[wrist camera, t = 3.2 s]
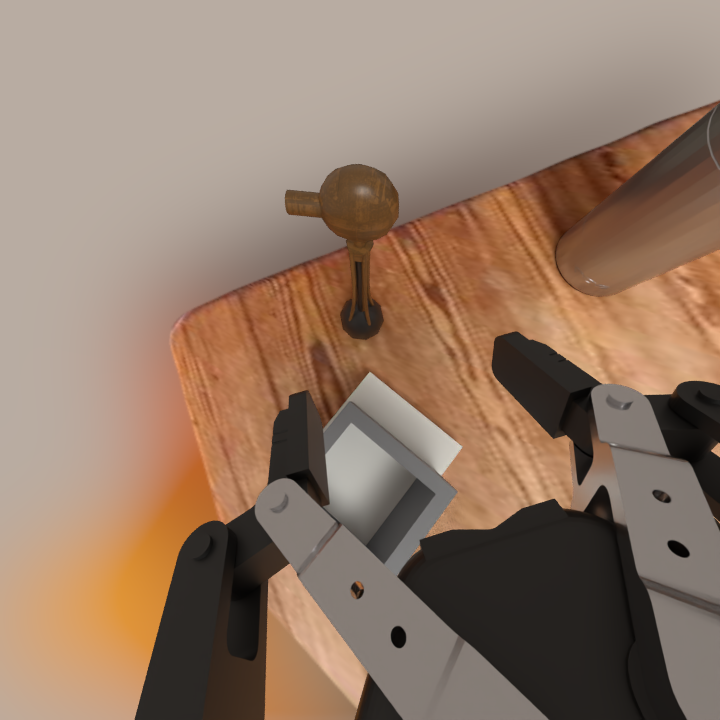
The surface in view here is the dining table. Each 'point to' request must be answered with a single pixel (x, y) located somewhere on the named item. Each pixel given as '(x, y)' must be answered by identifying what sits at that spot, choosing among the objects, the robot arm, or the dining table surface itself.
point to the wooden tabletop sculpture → (353, 231)
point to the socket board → (386, 471)
